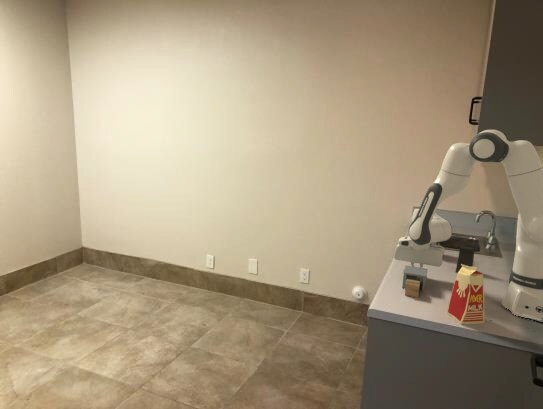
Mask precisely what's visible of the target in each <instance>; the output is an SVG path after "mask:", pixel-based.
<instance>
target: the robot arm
mask: <svg viewBox="0 0 543 409" xmlns="http://www.w3.org/2000/svg"><path fill="white" fill-rule="evenodd" d="M540 158H541V157H540V156H539V154H538V152H537V150H536V148H535V146H534V145H533V144H532V142H530V141H528V140H523V139H522V140H521V139H520V140H514V141H509V137H508V136H507V134H506V133H505V132H504V131H503V130H500V129H497V128H489V129H485V130H483V131H481V132H478V134H476V135H474V137H473V138H471V141H470V142H469V143H466V142H456V143H453V144H452V145H450V146H449V148H448V150H447V152H446V154H445V156H444V158H443V160H442V163H441V167H440V170H439V173H438V175H437V177H436V179H435V180H434V181H433V183H432V184H431V185H430V186H429V187H428V189H427V191H426V193H425V195H424V197H423V200H422V202H421V204H420V206H419V207H416V208H414V210H413V213H412V216H411V223H410V225H409V228H408V236H401V237H400V238H399V239H398V243H397V244H396V247H395V250H394V254H393V258H394V260H396V261H402V262H409V263H410V266H413V267H416V266H415V264H419V266H418V267H419V268H423V266H424V265H427V266H434V267H442V265H443V256H444V255H445V252H446V250H445V249H446V248H445V247H444V246H442V245H440V244H436V245H434V244H430V243H435V242H437V243H440V242H445V241H448V240H449V239H451V237H452V234H453V226H452V223H451V222H450V221H449V220H447V219H445V218H443V217H441V216H440V215H438V214H437V213H436V211H437V210H438V208H439V205H440V204H441V203H443V202H444V201H445V200H447V199H449V198H450V197H452V196H455V195H457V194H460V193H461V192H463V191H464V190H465V189H466V187H467V185H468V184H469V182H470V178H471V176H472V173H473V170H474V166H475V165H476V163H477V162H481V163H501V164H502V166H503V168H504V171H505V175H506V178H507V181H508V186H509V189H510V191H511V194H512V195H511V196H512V198H513V200H514V203H515V206H516V208H517V211H518V214H517V222H516V223H517V224H516V236H515V237H516V239H515V242H516V243H515V252H514V259H513V266H512V268H511V270H510V272H509V278H508V287H507V291H506V293H505V295H504V298H503V299H502V301H501V305H502V306H503V308H505V309H506V308H507V309H506V310H508V309H509V310H510V311H511V312H512V313H511V312H510V311H509V310H508V311H509V312H510V313H511V314H512V315H513V314H514V315H513V316H515V315H516V316H515V317H518V316H521V317H525V318H532V319H537V320H542V319H541V318H543V165H542V164H543V163H542V161H541V159H540ZM521 317H520V318H521ZM525 318H524V319H525Z"/></svg>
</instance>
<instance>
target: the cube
mask: <svg viewBox="0 0 543 409" xmlns="http://www.w3.org/2000/svg"><path fill="white" fill-rule="evenodd" d="M420 285H421V281H418V280H417V281H415V280H409V279H407V282H406V289H405V288H404V296H407V297H412V298H418V299H419V294H420V287H421V286H420Z"/></svg>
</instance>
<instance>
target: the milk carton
mask: <svg viewBox="0 0 543 409" xmlns="http://www.w3.org/2000/svg"><path fill="white" fill-rule="evenodd" d="M461 265H462V264H461ZM478 269H479V267H478V266H473V267H469V266H466V265H462V268H461V269H460V270H459V272H458V273H457V272H456V276H455V280H454V283H453V287H452V290H451V295H450V298H449V302H448V308H447V313H446V314H447V315H448V316H450V317H452V318H453V320H455V321H456V322H457V323H458V324H460V325H473V324H476V325H477V324H485V319H486V318H485V292H484V291H485V290H484V289H485V288H484V274H483V273H482V272H480V271H478Z"/></svg>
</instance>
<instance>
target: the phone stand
mask: <svg viewBox="0 0 543 409" xmlns="http://www.w3.org/2000/svg"><path fill="white" fill-rule="evenodd" d="M475 250H476V247H473V246H469V245H467V246H466V245H462V244H461V245H460V246H459V251H458V258H457V262H456V268H455V273H456V274H457V273H458V272H459V270H460V269H461V268H462V265H466V266H469V267H474V259H475V258H474V257H475ZM461 264H462V265H461Z"/></svg>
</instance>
